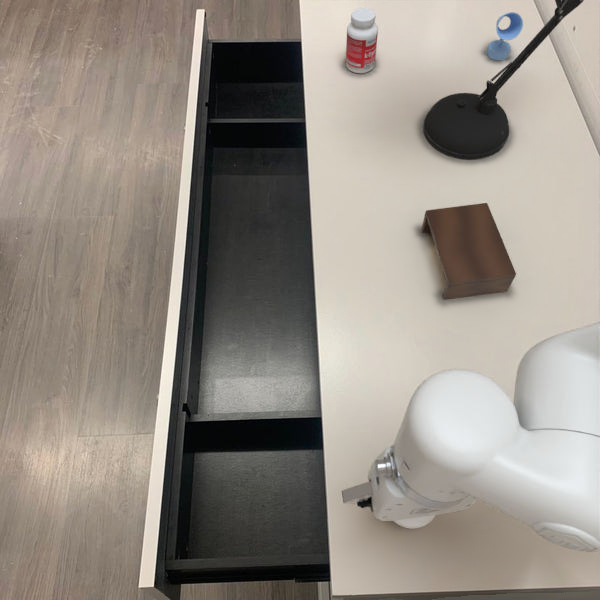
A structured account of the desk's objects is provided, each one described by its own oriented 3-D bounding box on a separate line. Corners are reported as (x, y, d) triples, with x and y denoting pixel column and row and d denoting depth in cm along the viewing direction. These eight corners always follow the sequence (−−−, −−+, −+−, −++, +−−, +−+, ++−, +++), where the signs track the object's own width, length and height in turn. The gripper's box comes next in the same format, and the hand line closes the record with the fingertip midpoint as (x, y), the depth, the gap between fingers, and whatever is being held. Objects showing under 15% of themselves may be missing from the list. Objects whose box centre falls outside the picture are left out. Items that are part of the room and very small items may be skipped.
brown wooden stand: (479, 221, 89) (487, 202, 85) (507, 291, 82) (516, 274, 77) (421, 229, 89) (425, 210, 84) (443, 299, 81) (449, 282, 77)
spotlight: (511, 65, 110) (508, 45, 113) (526, 18, 101) (523, -2, 105) (486, 64, 110) (484, 44, 114) (500, 18, 102) (497, -3, 105)
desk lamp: (375, 158, 98) (406, -142, 59) (420, 75, 109) (470, -221, 71) (508, 196, 91) (639, -111, 53) (541, 104, 103) (667, -203, 65)
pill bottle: (366, 77, 110) (369, 26, 100) (340, 69, 112) (341, 18, 102) (380, 61, 112) (384, 10, 103) (354, 53, 114) (356, 1, 105)
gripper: (343, 521, 43) (339, 547, 59) (549, 491, 44) (492, 525, 59) (329, 431, 47) (328, 478, 63) (519, 405, 48) (472, 458, 63)
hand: (408, 500), depth 61 cm, fingers closed on lightbulb, 6 cm apart
